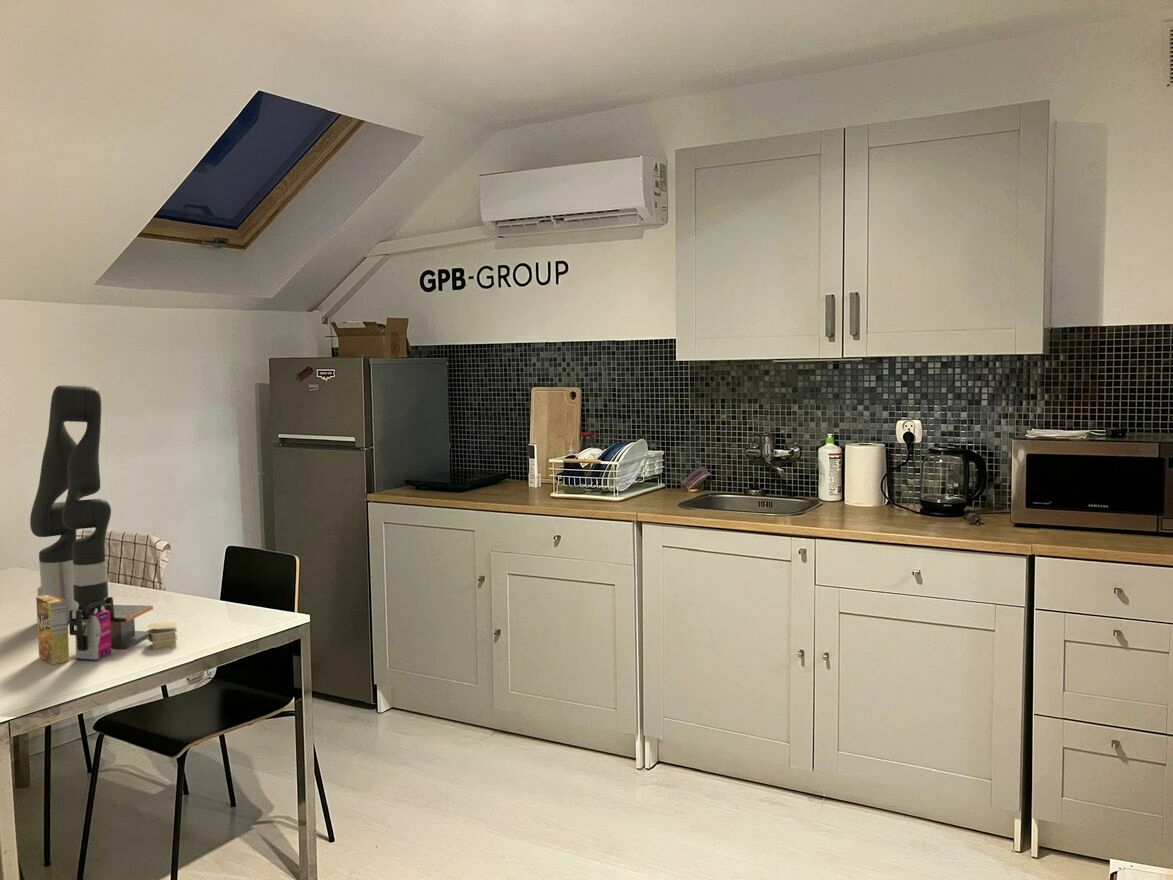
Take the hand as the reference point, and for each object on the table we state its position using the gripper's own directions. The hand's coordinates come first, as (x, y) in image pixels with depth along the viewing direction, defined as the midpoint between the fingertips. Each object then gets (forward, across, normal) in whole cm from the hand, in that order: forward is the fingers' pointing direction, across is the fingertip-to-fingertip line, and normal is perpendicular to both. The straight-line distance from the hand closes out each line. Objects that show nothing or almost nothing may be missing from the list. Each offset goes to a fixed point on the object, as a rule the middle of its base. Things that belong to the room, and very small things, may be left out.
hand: (93, 644), depth 233 cm
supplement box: (+3, 0, 0) cm, 3 cm away
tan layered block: (+4, -11, +11) cm, 16 cm away
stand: (+3, -13, -2) cm, 14 cm away
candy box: (+3, +2, -9) cm, 10 cm away
